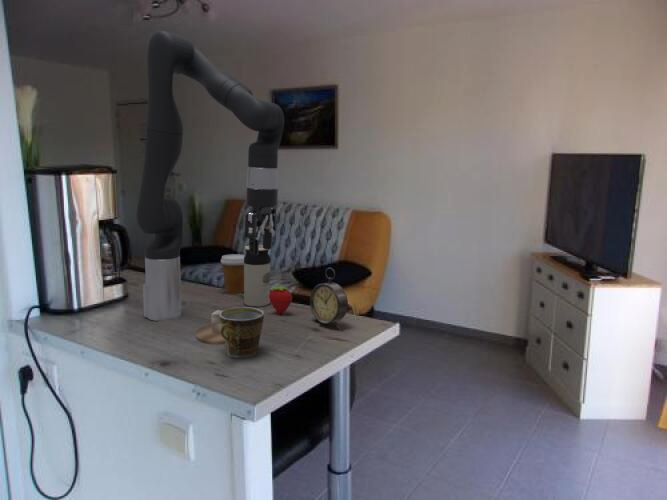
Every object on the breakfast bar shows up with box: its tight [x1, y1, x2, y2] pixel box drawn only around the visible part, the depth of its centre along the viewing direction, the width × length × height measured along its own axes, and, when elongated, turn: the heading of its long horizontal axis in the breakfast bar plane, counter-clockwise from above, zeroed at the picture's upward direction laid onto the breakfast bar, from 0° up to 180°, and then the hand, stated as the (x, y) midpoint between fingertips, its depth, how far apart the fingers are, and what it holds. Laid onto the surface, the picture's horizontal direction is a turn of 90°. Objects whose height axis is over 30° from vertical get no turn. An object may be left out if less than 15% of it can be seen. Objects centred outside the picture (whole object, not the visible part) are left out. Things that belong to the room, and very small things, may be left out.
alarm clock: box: [309, 267, 349, 330], centre depth 138 cm, size 11×5×16 cm, turn 47°
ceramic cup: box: [220, 306, 265, 359], centre depth 115 cm, size 13×10×10 cm
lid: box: [195, 309, 225, 345], centre depth 127 cm, size 12×12×6 cm
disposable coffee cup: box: [220, 253, 246, 294], centre depth 171 cm, size 10×10×12 cm
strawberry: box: [269, 281, 293, 316], centre depth 147 cm, size 6×8×10 cm
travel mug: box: [243, 244, 271, 308], centre depth 156 cm, size 8×8×18 cm
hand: (260, 251), depth 126 cm, fingers open, 8 cm apart
